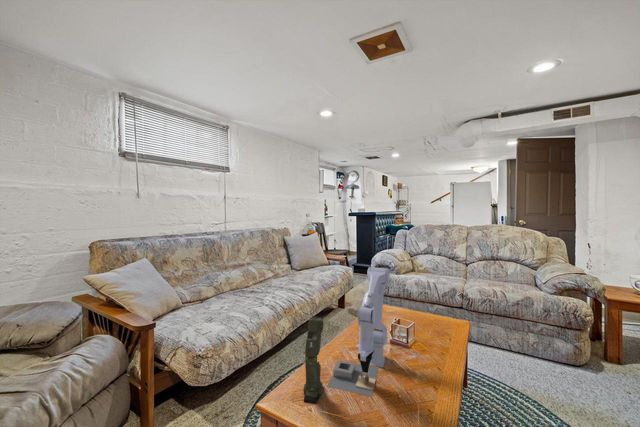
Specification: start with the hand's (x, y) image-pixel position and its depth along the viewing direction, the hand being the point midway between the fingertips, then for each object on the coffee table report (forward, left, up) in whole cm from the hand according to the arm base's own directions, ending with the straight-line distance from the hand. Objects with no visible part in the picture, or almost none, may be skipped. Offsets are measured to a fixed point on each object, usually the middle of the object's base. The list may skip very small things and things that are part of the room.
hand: (365, 369), depth 112 cm
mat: (-3, -6, -6) cm, 9 cm away
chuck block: (-4, -10, -6) cm, 12 cm away
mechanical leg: (+12, -19, -7) cm, 23 cm away
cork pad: (0, 0, -6) cm, 6 cm away
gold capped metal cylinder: (0, 0, -4) cm, 4 cm away
